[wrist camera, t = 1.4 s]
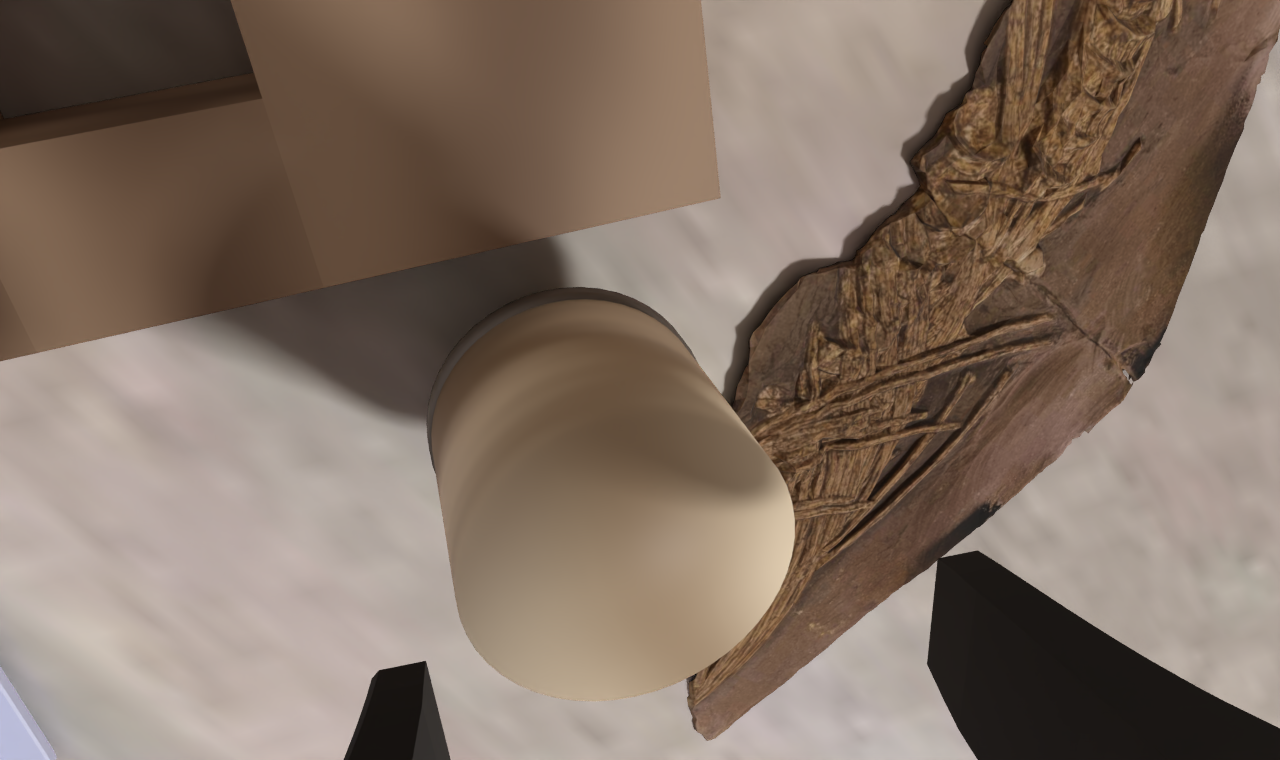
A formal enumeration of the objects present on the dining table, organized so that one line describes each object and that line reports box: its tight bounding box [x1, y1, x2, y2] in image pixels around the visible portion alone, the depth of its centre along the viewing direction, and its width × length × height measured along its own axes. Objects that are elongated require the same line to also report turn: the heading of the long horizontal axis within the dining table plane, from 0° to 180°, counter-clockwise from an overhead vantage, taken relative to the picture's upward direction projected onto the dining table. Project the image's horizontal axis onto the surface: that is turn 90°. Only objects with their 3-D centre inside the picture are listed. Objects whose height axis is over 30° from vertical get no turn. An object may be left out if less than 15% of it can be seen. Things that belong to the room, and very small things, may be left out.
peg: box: [427, 287, 795, 701], centre depth 18 cm, size 6×6×8 cm
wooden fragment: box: [687, 0, 1280, 741], centre depth 24 cm, size 26×11×1 cm, turn 146°
